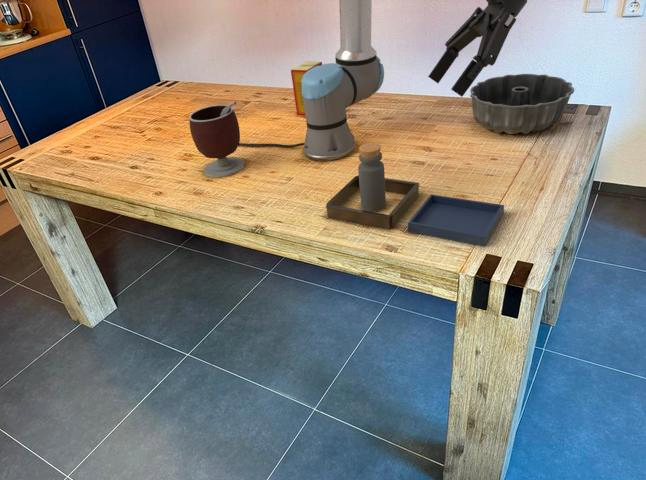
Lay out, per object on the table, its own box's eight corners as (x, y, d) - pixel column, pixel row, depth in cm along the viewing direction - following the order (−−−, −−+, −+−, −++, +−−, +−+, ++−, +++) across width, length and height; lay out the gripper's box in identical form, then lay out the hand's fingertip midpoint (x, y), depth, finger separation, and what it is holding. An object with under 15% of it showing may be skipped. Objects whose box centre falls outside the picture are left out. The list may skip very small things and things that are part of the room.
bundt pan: (590, 125, 137) (598, 88, 131) (505, 150, 133) (509, 113, 128) (525, 100, 158) (529, 67, 152) (450, 121, 154) (451, 88, 149)
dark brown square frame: (325, 217, 120) (324, 205, 118) (358, 185, 130) (357, 174, 129) (391, 230, 111) (390, 217, 109) (420, 195, 122) (420, 182, 120)
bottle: (385, 211, 118) (382, 151, 109) (360, 212, 119) (355, 153, 111) (386, 199, 122) (383, 140, 114) (362, 200, 124) (357, 142, 115)
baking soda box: (312, 116, 177) (306, 69, 168) (297, 115, 181) (290, 68, 171) (326, 106, 183) (321, 60, 173) (311, 105, 186) (306, 60, 177)
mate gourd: (193, 178, 151) (174, 112, 139) (215, 157, 161) (199, 94, 149) (239, 179, 145) (224, 110, 133) (258, 158, 155) (246, 92, 143)
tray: (407, 231, 110) (407, 222, 109) (430, 202, 118) (430, 194, 117) (484, 246, 101) (485, 236, 100) (503, 214, 109) (504, 205, 108)
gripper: (561, 4, 91) (481, 109, 99) (497, -4, 112) (436, 83, 120) (532, -21, 88) (453, 89, 97) (473, -24, 109) (412, 66, 118)
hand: (444, 86), depth 108 cm, fingers open, 13 cm apart
